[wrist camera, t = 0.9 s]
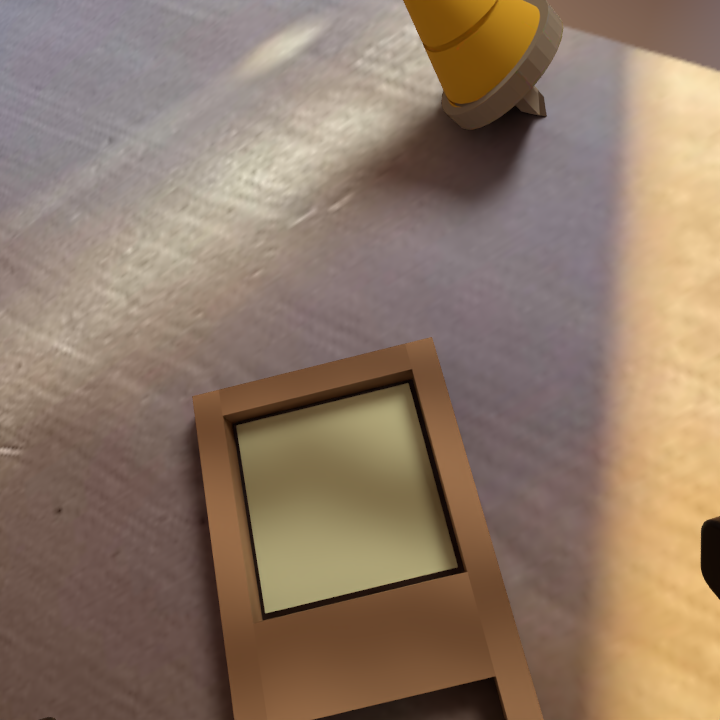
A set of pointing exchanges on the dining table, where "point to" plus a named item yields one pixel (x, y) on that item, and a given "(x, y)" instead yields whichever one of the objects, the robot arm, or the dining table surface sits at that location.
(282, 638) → the wooden double frame
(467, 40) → the yellow and grey cone
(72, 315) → the dining table surface
